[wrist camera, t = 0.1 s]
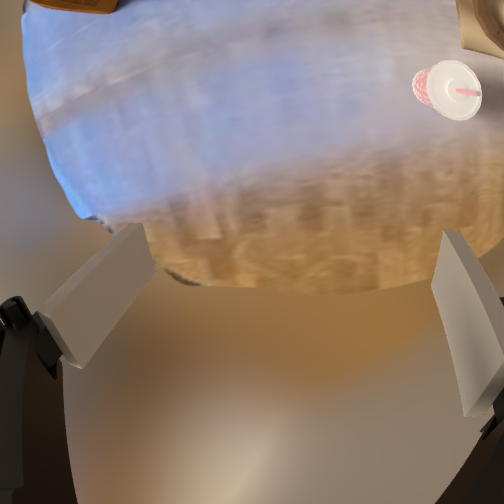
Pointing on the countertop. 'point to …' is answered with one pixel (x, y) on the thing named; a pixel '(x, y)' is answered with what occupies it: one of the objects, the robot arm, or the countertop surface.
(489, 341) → the robot arm
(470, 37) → the socket board
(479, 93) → the beverage cup
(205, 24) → the countertop surface
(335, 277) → the countertop surface
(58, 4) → the coffee package
